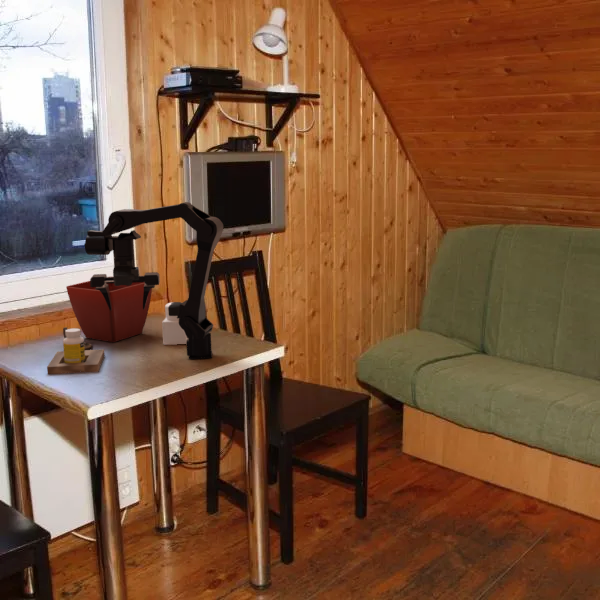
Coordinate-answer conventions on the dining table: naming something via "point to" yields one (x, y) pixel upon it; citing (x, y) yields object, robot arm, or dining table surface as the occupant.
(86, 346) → the compass
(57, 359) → the socket board
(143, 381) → the dining table surface
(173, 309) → the medicine bottle
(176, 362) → the dining table surface
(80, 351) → the supplement bottle
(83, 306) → the plant pot
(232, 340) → the dining table surface
